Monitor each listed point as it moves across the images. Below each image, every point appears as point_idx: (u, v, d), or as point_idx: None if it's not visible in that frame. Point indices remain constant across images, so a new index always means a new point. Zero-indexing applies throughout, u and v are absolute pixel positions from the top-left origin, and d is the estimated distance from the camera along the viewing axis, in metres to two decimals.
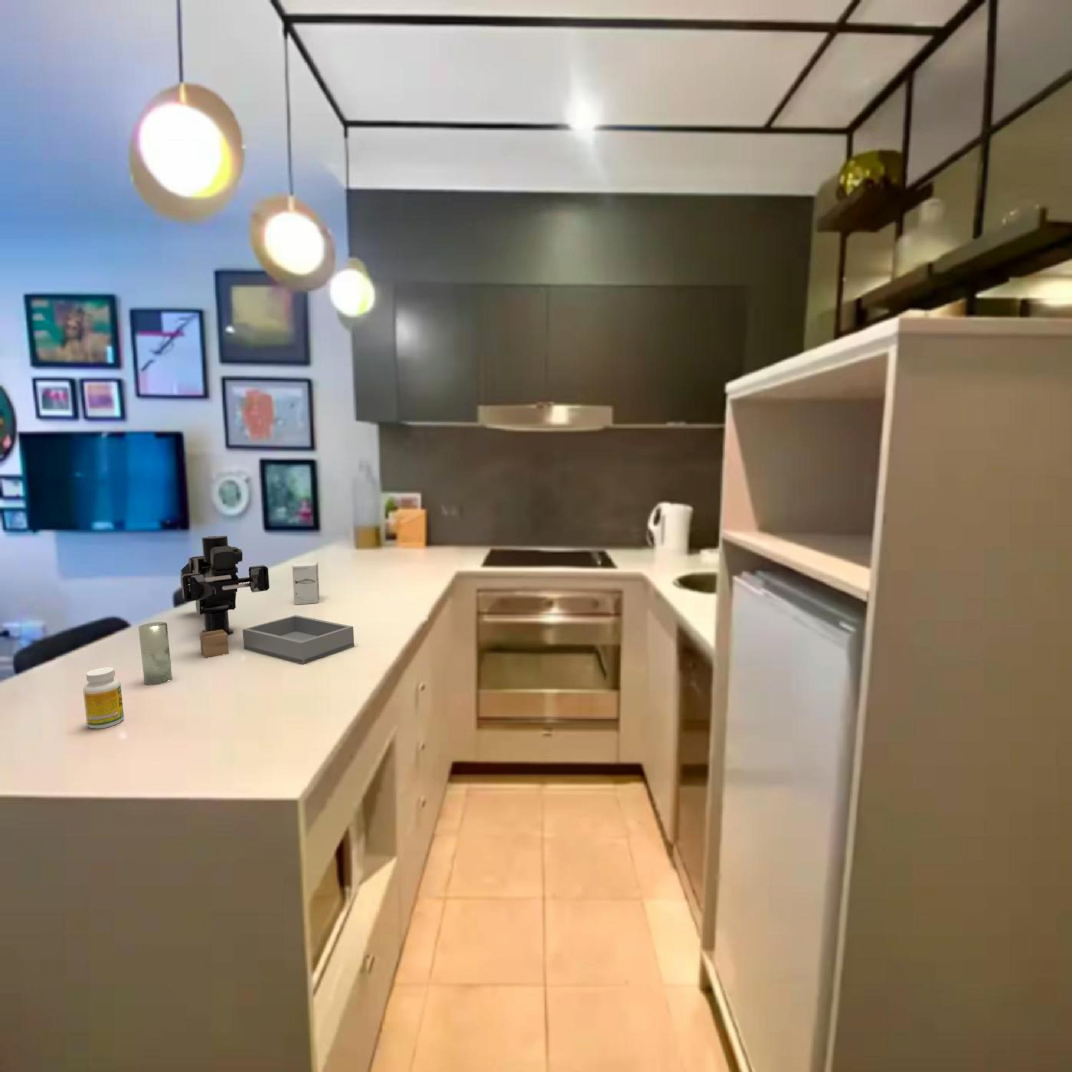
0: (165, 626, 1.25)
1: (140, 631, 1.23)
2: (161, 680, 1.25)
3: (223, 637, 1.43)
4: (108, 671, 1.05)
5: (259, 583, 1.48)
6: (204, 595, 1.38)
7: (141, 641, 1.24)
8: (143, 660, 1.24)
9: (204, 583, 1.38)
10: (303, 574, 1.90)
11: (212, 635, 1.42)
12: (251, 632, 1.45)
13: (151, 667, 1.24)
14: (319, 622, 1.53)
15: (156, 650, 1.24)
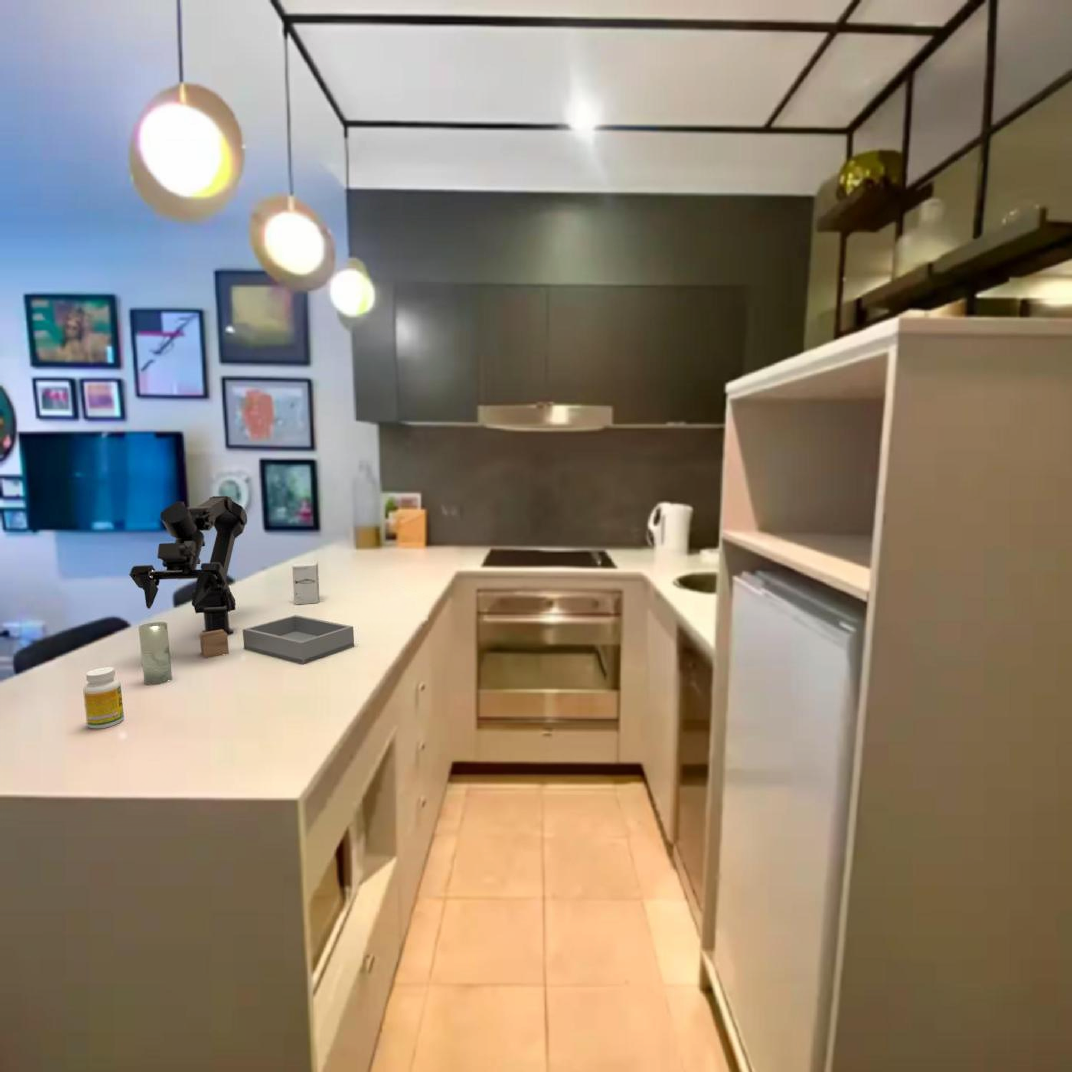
0: (165, 626, 1.25)
1: (140, 631, 1.23)
2: (161, 680, 1.25)
3: (223, 637, 1.43)
4: (108, 671, 1.05)
5: (211, 583, 1.39)
6: None
7: (141, 641, 1.24)
8: (143, 660, 1.24)
9: (146, 589, 1.34)
10: (303, 574, 1.90)
11: (212, 635, 1.42)
12: (251, 632, 1.45)
13: (151, 667, 1.24)
14: (319, 622, 1.53)
15: (156, 650, 1.24)
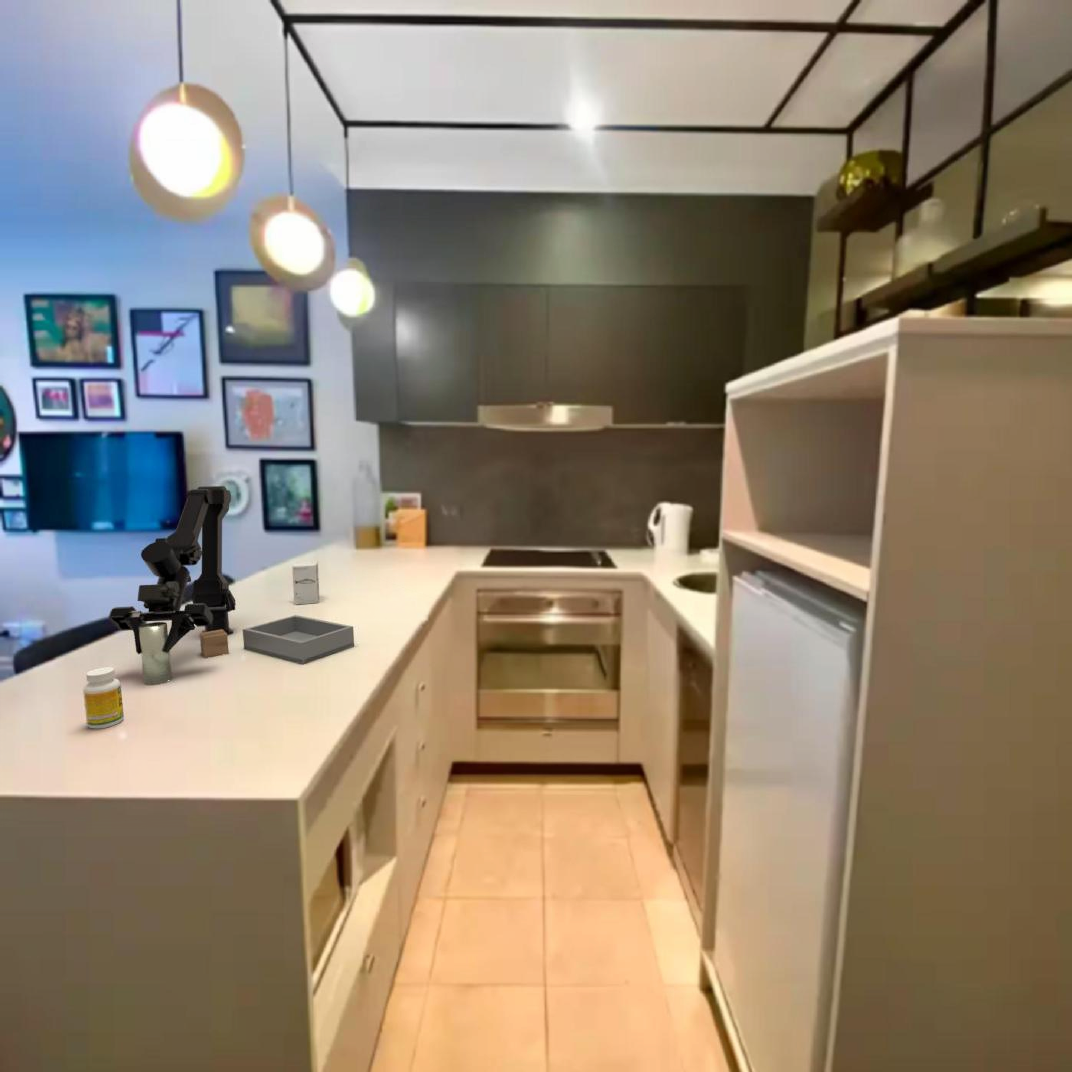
0: (165, 626, 1.25)
1: (140, 631, 1.23)
2: (161, 680, 1.25)
3: (223, 637, 1.43)
4: (108, 671, 1.05)
5: (186, 625, 1.30)
6: None
7: (141, 641, 1.24)
8: (143, 660, 1.24)
9: (136, 633, 1.25)
10: (303, 574, 1.90)
11: (212, 635, 1.42)
12: (251, 632, 1.45)
13: (151, 667, 1.24)
14: (319, 622, 1.53)
15: (156, 650, 1.24)
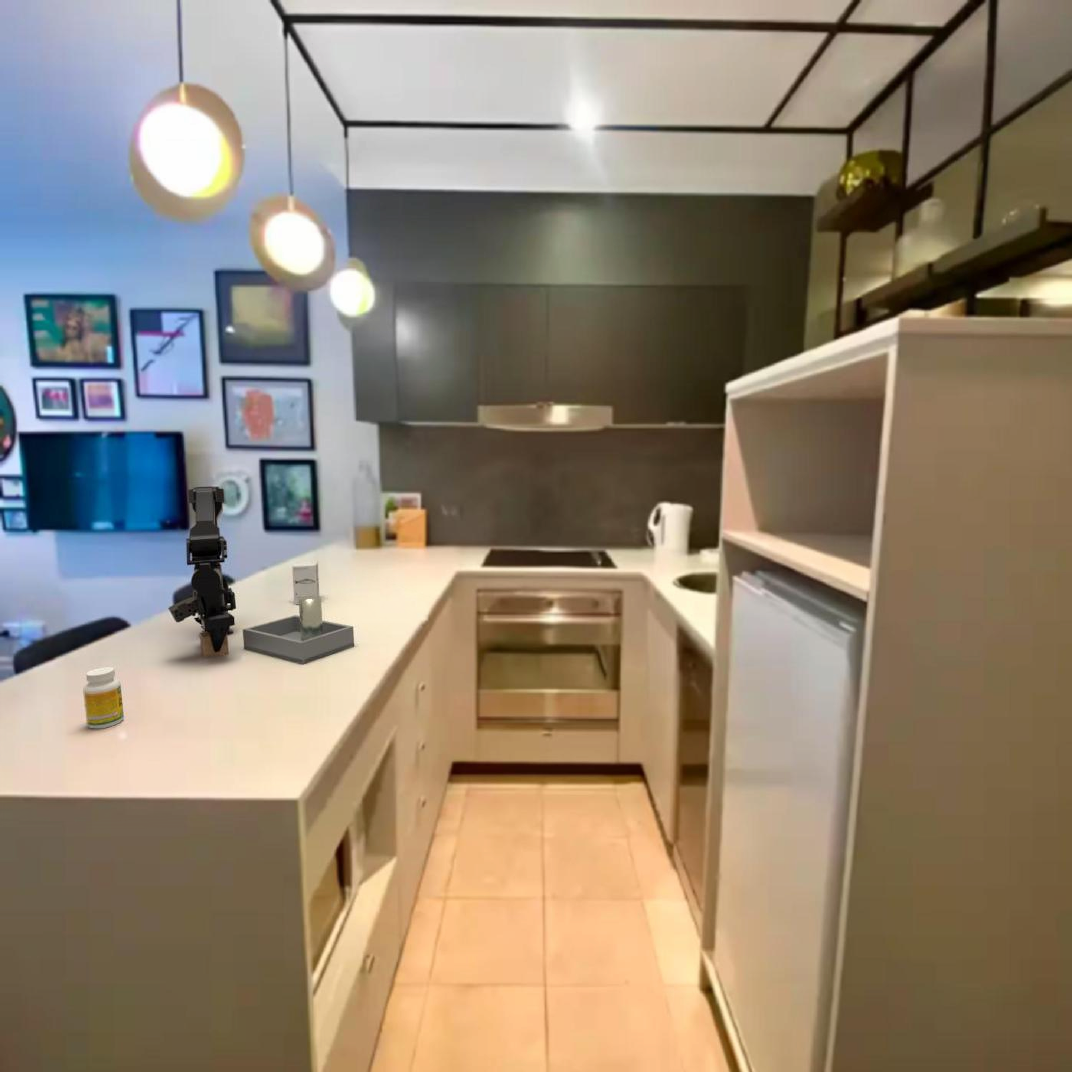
0: None
1: (310, 603, 1.41)
2: None
3: None
4: (108, 671, 1.05)
5: None
6: None
7: (311, 612, 1.41)
8: (312, 628, 1.42)
9: (204, 630, 1.45)
10: (303, 574, 1.90)
11: None
12: (251, 632, 1.45)
13: (319, 633, 1.43)
14: None
15: (321, 617, 1.44)
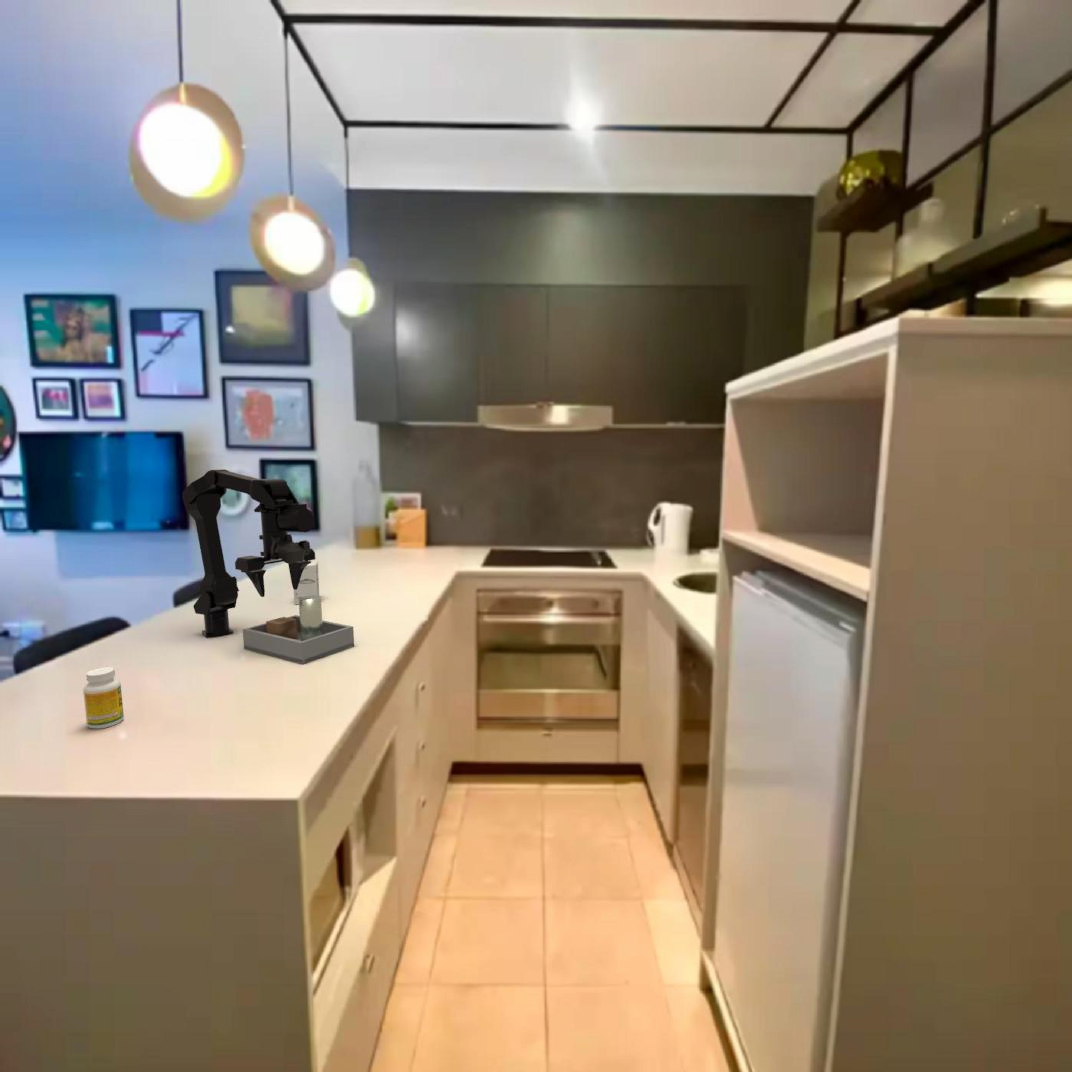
0: None
1: (311, 602, 1.41)
2: None
3: None
4: (108, 671, 1.05)
5: None
6: (253, 583, 1.45)
7: (311, 611, 1.42)
8: (312, 628, 1.42)
9: (261, 581, 1.43)
10: (303, 574, 1.90)
11: (287, 619, 1.51)
12: (251, 632, 1.45)
13: (320, 632, 1.44)
14: None
15: (321, 616, 1.44)
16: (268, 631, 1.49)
